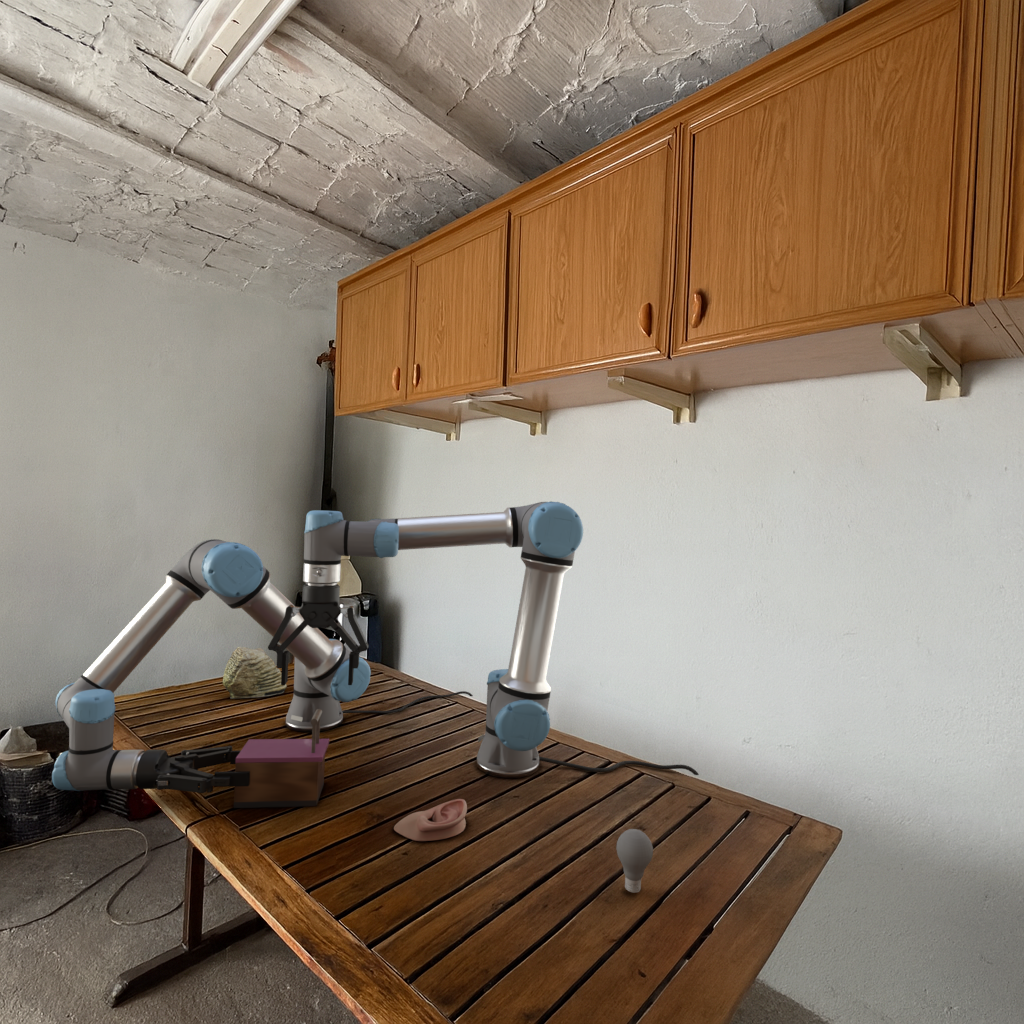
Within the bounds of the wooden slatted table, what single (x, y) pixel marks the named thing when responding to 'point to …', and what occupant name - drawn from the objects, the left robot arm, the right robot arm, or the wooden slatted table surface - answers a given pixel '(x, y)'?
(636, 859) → the light bulb
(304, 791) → the chest
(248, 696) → the fossil
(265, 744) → the lid
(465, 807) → the anatomical model
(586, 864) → the wooden slatted table surface
